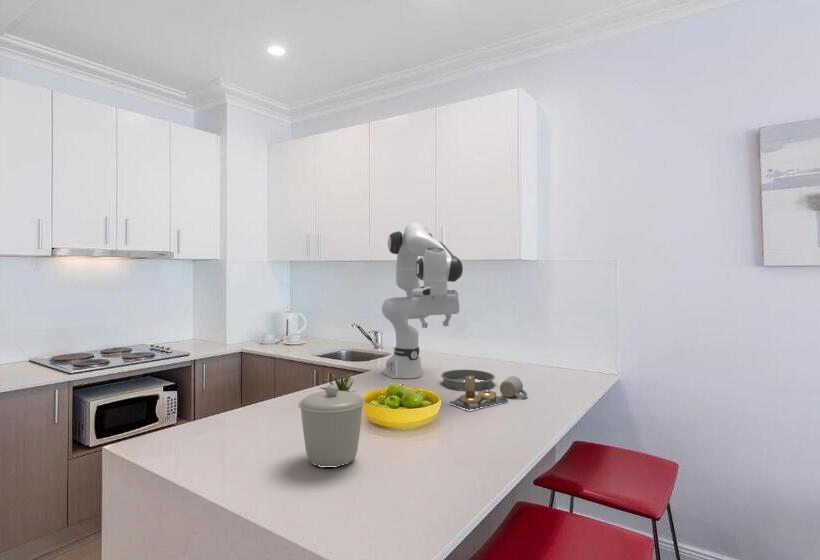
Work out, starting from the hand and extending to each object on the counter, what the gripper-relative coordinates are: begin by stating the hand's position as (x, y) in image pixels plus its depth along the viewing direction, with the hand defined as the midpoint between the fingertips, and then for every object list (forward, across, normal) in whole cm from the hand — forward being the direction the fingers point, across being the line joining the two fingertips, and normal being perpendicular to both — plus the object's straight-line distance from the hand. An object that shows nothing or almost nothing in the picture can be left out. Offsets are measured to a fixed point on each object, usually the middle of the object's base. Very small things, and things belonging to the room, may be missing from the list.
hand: (435, 326), depth 175 cm
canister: (+31, +50, +26) cm, 65 cm away
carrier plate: (+31, -18, +3) cm, 36 cm away
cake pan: (+32, -33, -24) cm, 51 cm away
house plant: (+31, +35, -7) cm, 48 cm away
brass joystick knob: (+30, -14, +4) cm, 33 cm away
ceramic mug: (+31, -38, +2) cm, 49 cm away
